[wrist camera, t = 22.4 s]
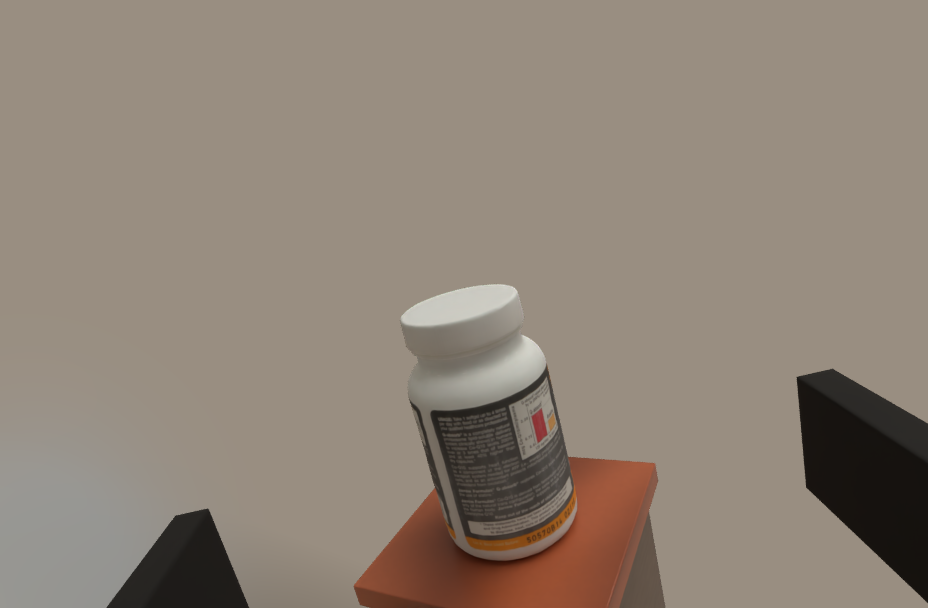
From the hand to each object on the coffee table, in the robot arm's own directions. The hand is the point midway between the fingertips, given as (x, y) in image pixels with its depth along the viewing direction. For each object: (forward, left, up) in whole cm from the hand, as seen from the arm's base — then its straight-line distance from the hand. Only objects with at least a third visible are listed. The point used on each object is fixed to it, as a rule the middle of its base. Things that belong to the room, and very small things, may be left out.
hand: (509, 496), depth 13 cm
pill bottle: (+5, -9, -8) cm, 13 cm away
